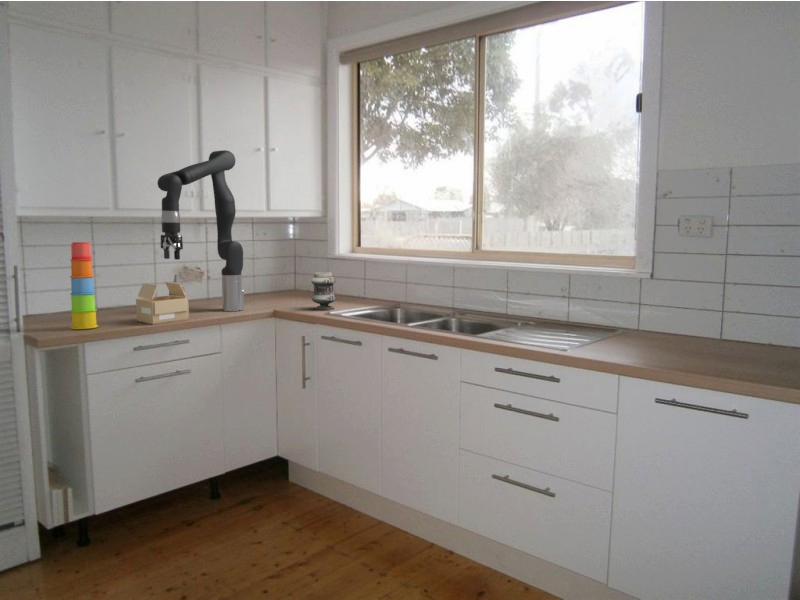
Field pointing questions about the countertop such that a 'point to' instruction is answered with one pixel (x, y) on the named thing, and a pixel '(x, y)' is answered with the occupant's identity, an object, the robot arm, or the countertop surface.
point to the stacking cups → (82, 287)
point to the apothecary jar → (323, 290)
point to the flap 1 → (147, 291)
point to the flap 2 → (175, 288)
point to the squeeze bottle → (176, 280)
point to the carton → (162, 309)
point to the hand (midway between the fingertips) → (171, 259)
